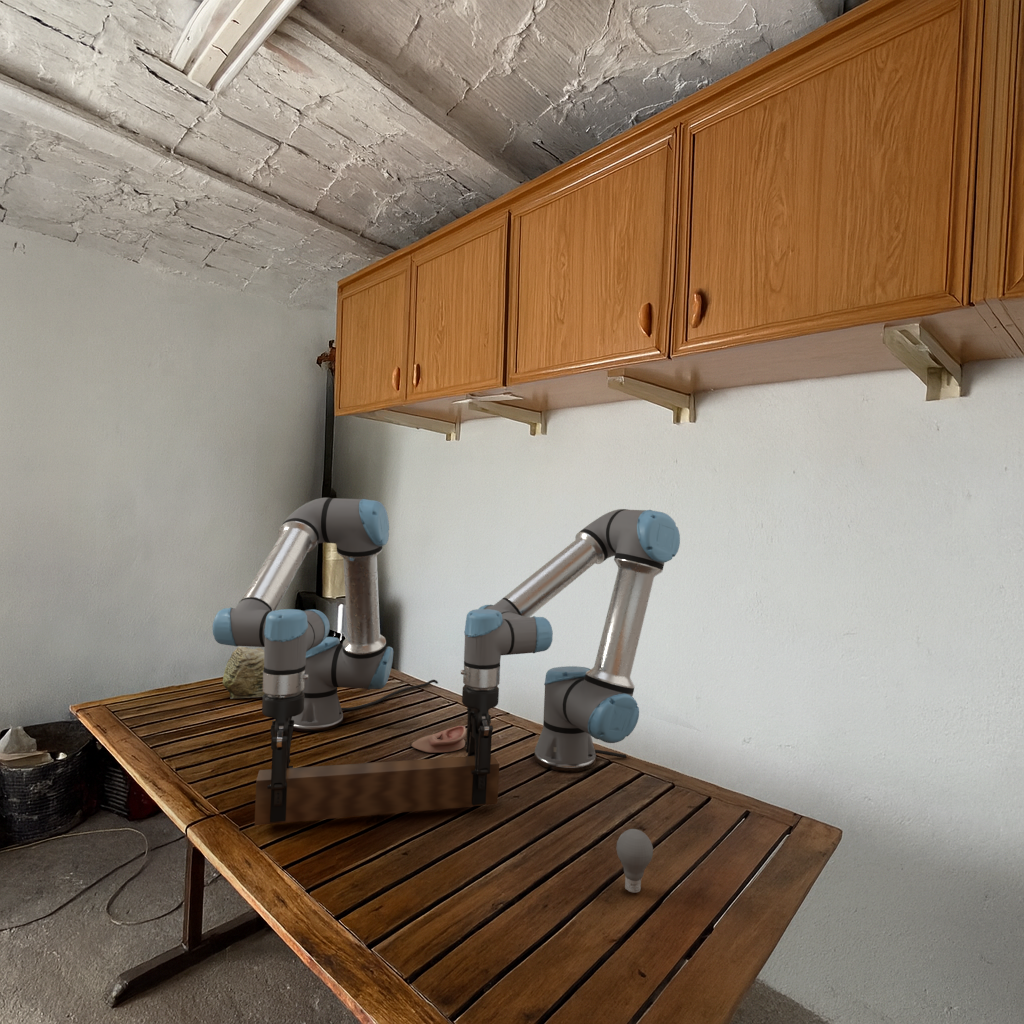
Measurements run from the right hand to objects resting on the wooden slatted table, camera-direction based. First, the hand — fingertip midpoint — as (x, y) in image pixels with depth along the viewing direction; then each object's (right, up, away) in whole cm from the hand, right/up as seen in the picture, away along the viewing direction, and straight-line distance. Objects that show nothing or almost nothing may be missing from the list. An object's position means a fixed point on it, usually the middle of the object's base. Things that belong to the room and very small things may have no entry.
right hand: (475, 797), depth 131 cm
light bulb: (+28, -4, -25) cm, 38 cm away
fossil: (-73, +2, +67) cm, 99 cm away
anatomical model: (-11, -2, +33) cm, 35 cm away
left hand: (-37, +1, -10) cm, 38 cm away
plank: (-19, 0, -5) cm, 19 cm away
